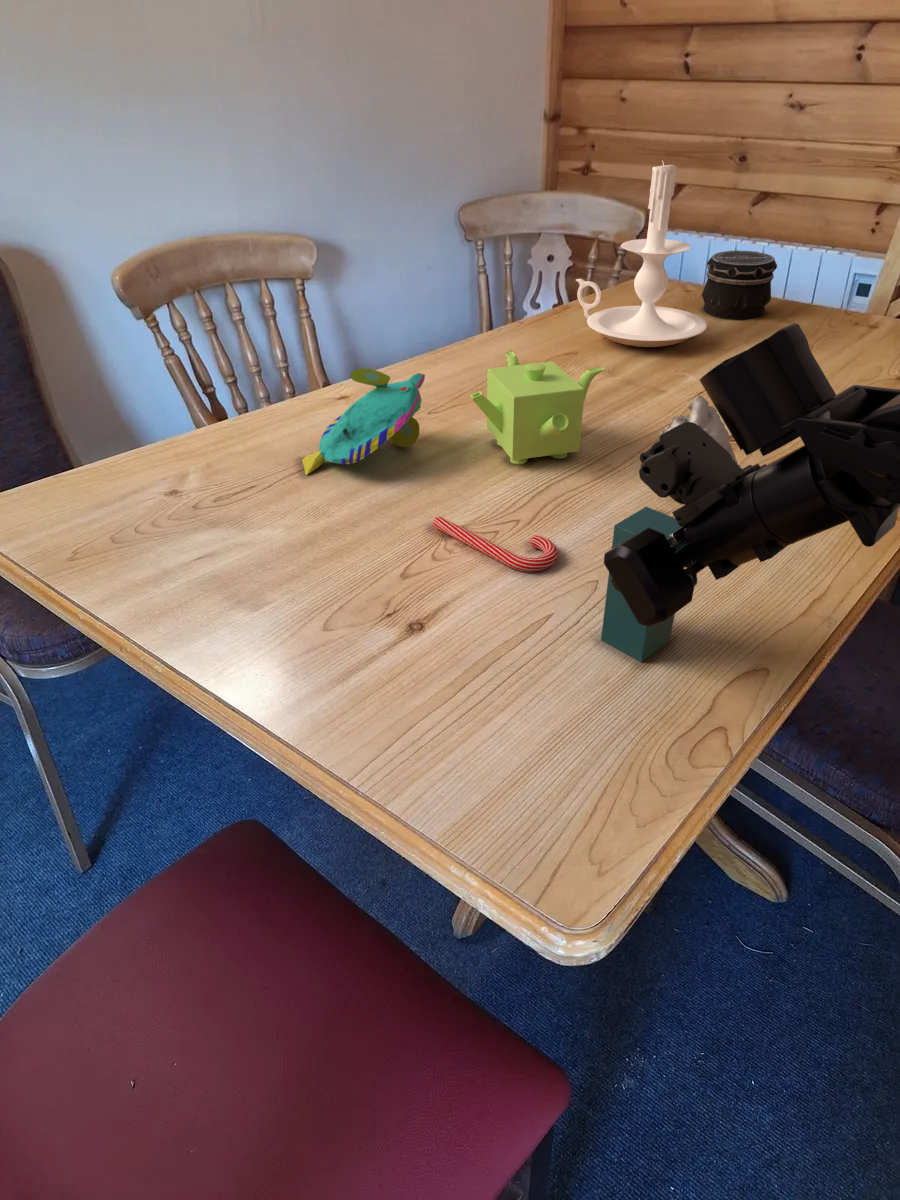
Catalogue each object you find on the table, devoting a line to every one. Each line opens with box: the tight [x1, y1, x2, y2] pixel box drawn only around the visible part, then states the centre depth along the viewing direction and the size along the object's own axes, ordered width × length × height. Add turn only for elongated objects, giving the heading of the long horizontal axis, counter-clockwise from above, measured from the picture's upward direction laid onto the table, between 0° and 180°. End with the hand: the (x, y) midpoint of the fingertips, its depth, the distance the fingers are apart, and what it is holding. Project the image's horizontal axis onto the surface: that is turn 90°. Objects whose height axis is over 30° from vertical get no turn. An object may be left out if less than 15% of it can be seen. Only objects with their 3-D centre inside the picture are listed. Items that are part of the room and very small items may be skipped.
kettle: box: [469, 350, 606, 465], centre depth 100 cm, size 15×14×11 cm
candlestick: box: [575, 160, 708, 348], centre depth 131 cm, size 21×25×28 cm
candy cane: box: [432, 516, 559, 572], centre depth 84 cm, size 6×15×2 cm, turn 44°
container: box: [701, 250, 778, 320], centre depth 148 cm, size 13×13×10 cm
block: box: [600, 506, 687, 663], centre depth 66 cm, size 4×4×12 cm
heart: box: [658, 394, 739, 465], centre depth 87 cm, size 10×10×12 cm
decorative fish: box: [302, 368, 426, 476], centre depth 99 cm, size 20×12×15 cm
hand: (631, 573), depth 67 cm, fingers closed on block, 4 cm apart
